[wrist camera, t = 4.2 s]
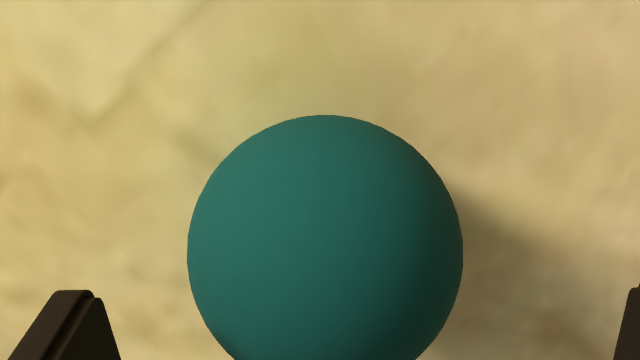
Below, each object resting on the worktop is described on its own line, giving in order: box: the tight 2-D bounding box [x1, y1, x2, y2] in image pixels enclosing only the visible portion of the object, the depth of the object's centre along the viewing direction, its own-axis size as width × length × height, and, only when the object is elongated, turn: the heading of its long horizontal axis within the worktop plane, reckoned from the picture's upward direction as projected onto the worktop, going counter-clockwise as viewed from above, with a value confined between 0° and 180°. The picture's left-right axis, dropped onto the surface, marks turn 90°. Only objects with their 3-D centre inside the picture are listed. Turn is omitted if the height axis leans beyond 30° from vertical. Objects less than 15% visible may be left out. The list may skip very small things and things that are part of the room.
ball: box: [187, 115, 463, 360], centre depth 13 cm, size 6×6×6 cm
